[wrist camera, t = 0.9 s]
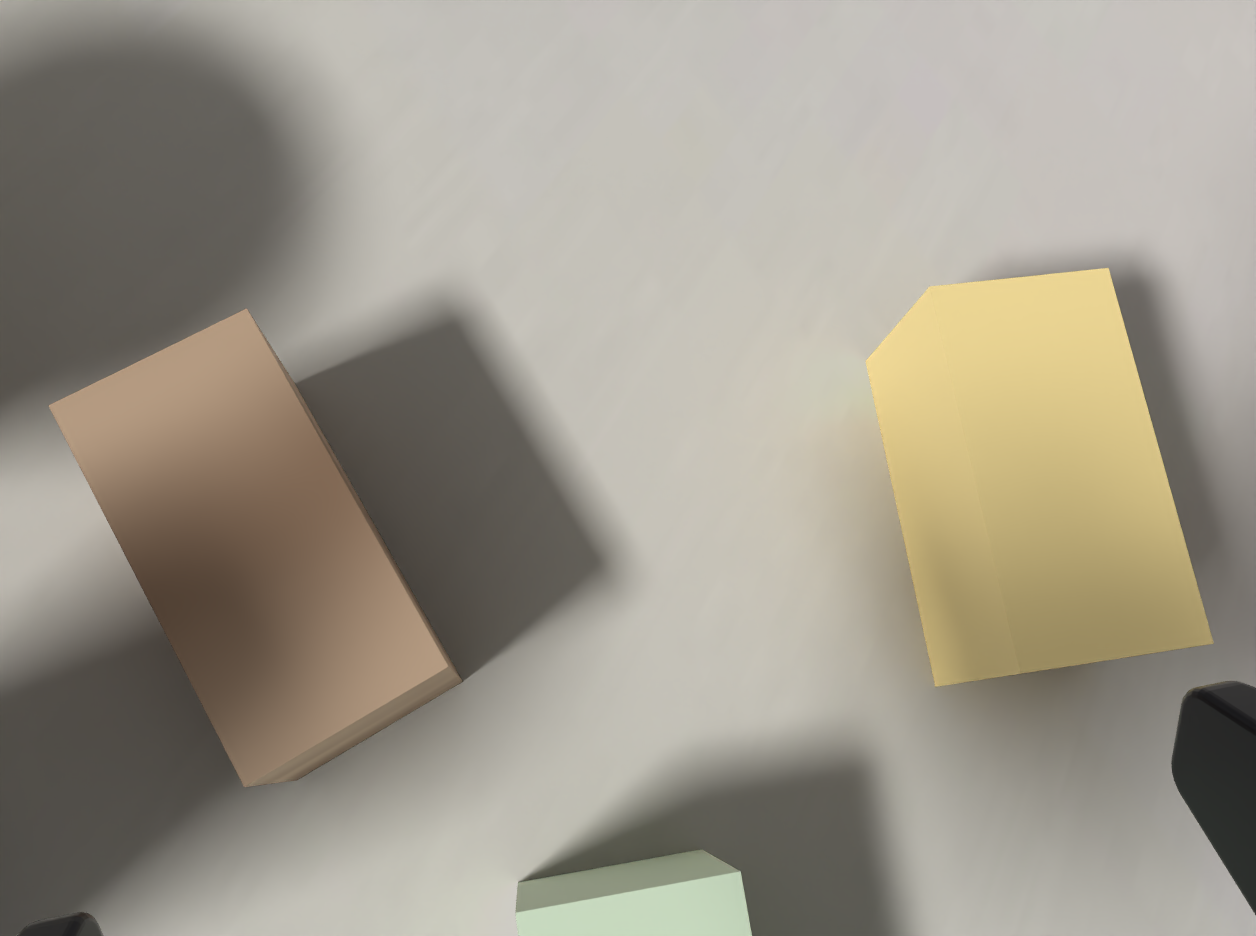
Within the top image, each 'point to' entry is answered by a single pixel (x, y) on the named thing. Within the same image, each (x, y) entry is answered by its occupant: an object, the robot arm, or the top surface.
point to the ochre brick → (1030, 480)
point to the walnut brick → (254, 551)
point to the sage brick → (638, 900)
